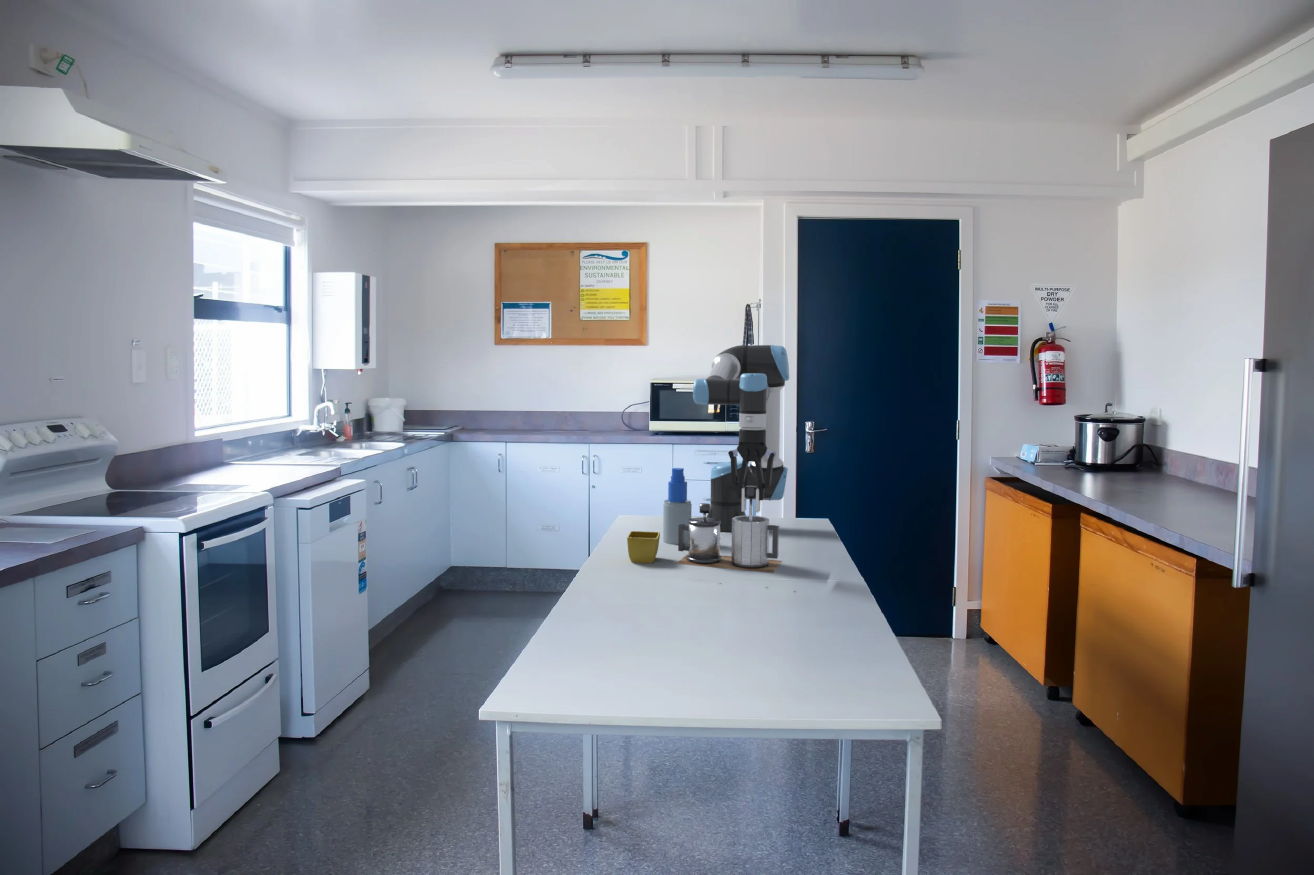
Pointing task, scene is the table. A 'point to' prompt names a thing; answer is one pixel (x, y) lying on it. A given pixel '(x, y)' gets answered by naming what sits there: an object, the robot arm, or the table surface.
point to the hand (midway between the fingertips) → (750, 510)
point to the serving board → (727, 564)
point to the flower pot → (643, 546)
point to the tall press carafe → (753, 542)
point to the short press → (701, 538)
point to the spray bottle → (676, 508)
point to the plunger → (750, 493)
